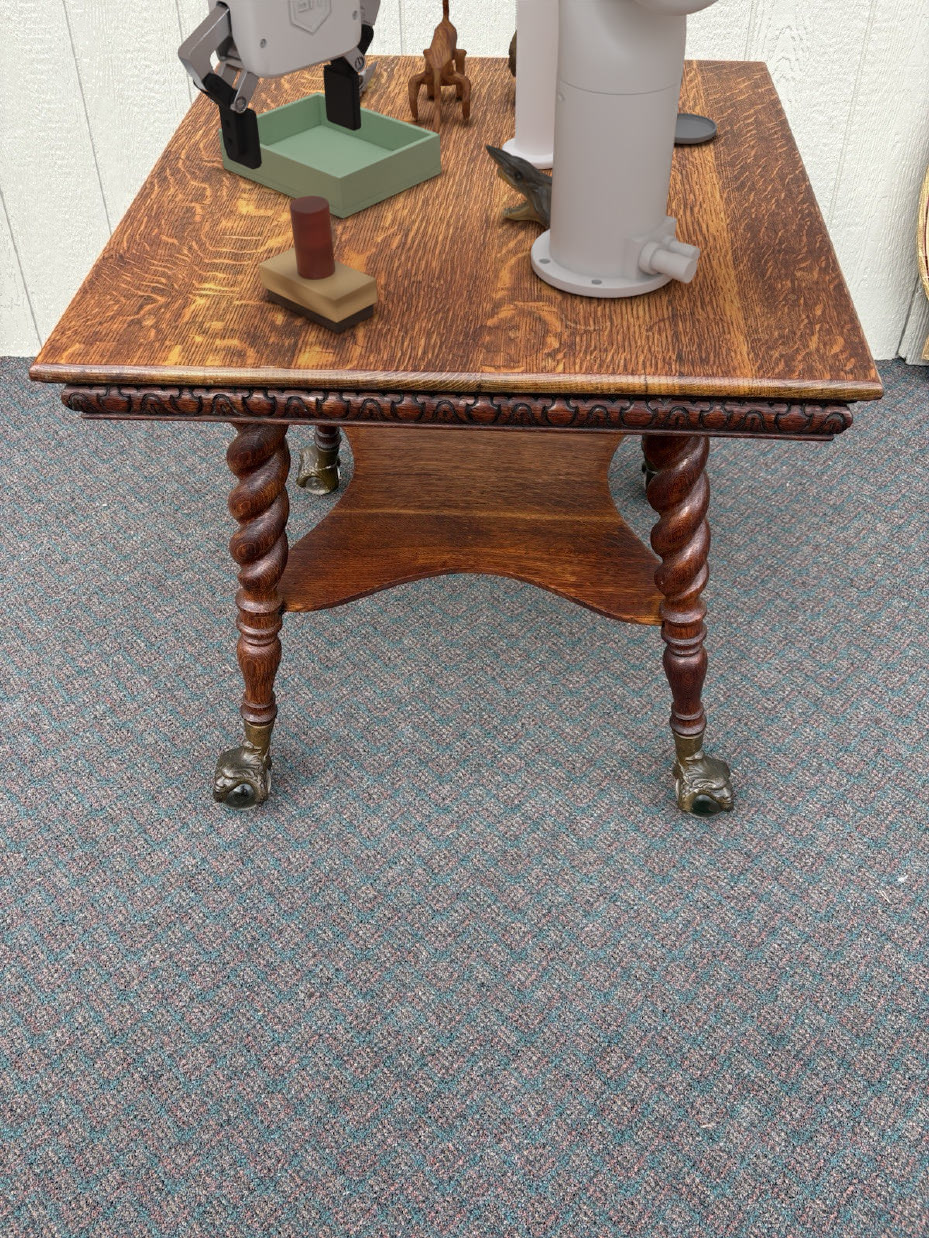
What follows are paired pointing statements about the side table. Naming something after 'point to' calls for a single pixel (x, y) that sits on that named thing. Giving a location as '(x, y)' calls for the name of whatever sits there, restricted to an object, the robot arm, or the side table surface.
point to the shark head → (524, 187)
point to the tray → (339, 155)
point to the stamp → (317, 273)
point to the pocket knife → (366, 77)
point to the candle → (535, 82)
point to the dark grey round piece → (693, 128)
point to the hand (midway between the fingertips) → (295, 144)
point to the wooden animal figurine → (442, 70)
